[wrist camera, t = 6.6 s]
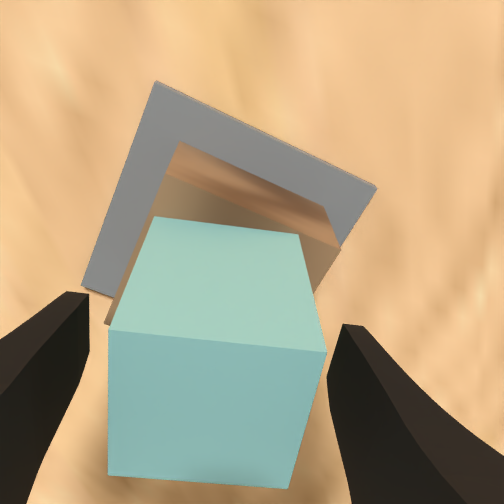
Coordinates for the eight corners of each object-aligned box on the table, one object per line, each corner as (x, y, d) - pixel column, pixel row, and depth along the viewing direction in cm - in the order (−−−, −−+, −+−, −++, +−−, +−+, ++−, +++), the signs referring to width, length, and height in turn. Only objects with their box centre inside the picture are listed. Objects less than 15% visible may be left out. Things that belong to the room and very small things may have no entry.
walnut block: (323, 206, 18) (341, 249, 15) (256, 319, 21) (258, 377, 17) (179, 140, 17) (165, 173, 14) (126, 270, 19) (103, 323, 16)
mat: (374, 185, 18) (377, 189, 18) (270, 349, 22) (271, 354, 22) (156, 80, 16) (154, 82, 16) (83, 280, 20) (80, 285, 20)
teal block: (298, 234, 15) (327, 352, 10) (274, 345, 17) (287, 489, 12) (154, 216, 14) (108, 329, 9) (147, 332, 16) (107, 475, 11)
